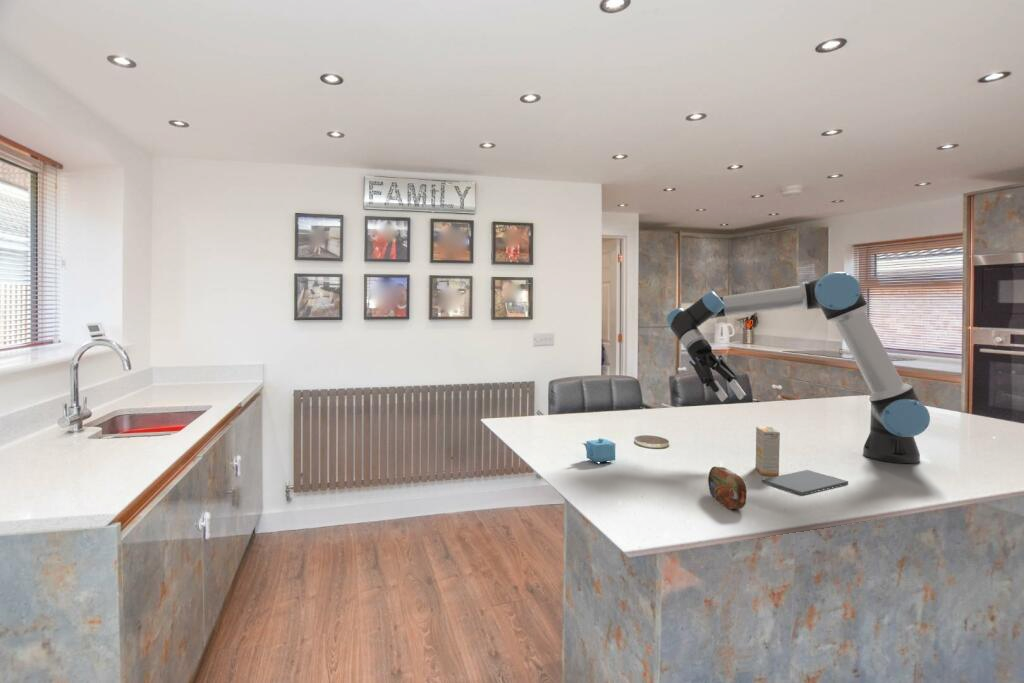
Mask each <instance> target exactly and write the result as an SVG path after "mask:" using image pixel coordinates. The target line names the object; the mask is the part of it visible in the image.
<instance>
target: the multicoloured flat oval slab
mask: <svg viewBox="0 0 1024 683" xmlns="http://www.w3.org/2000/svg"><path fill="white" fill-rule="evenodd" d="M707 481H708V482H707V484H708V491H709V493H710V495H711V497H712V498H713V499H714V498H715V499H716V500H715V499H714V500H715V501H717V502H718V501H719V502H718V503H720V504H721V505H722V504H723V506H724V507H725V508H726V509H729V510H741V509H743V508H744V507H745V505H746V501H747V486H746V482H745V480H744V479H743V477H742V476H740V475H738V474H737V473H736V472H733V471H732V470H730V469H728V468H726V467H722V466H712V467H711V468H710V470H709V472H708V478H707Z"/></svg>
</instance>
